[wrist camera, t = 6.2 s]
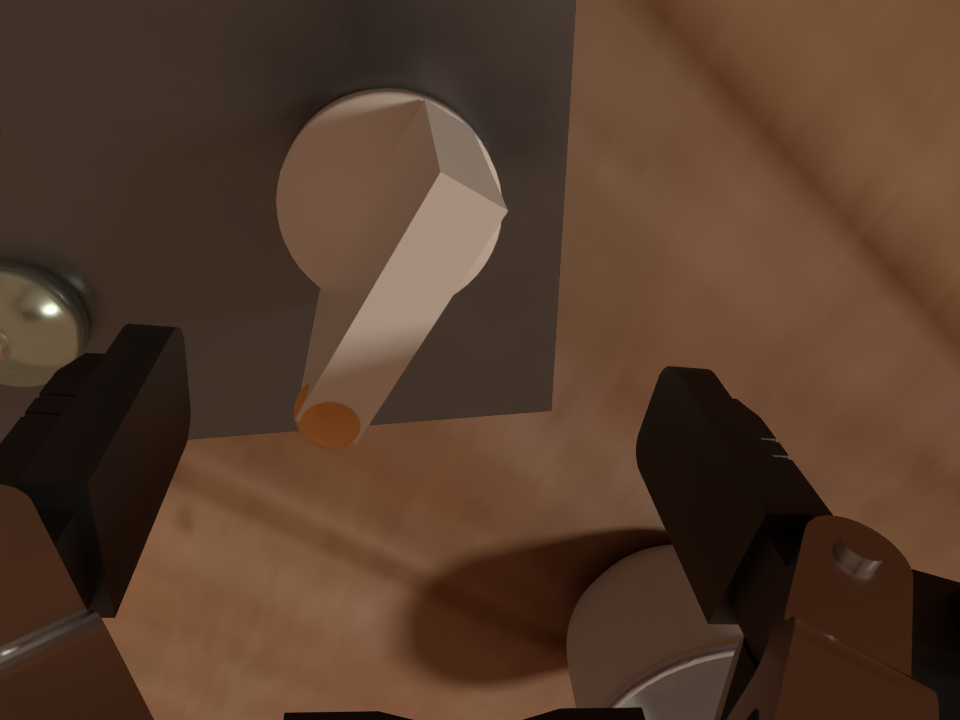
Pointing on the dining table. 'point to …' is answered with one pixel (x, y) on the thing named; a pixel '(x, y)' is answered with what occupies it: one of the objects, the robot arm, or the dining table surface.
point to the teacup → (648, 642)
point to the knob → (380, 243)
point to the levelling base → (261, 190)
